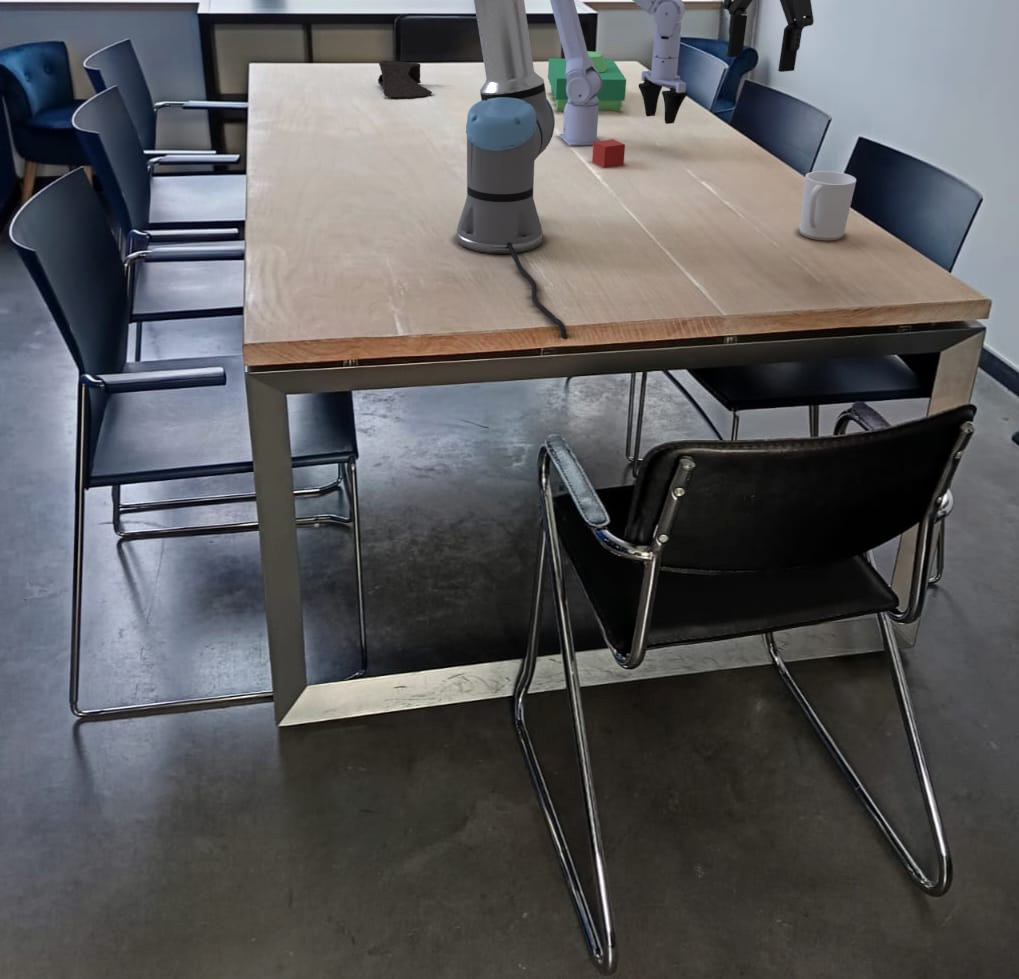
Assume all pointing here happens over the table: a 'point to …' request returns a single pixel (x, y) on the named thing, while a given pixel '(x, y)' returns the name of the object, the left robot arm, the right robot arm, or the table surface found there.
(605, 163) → the block
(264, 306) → the table surface
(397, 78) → the axe head
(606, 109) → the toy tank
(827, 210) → the mug
